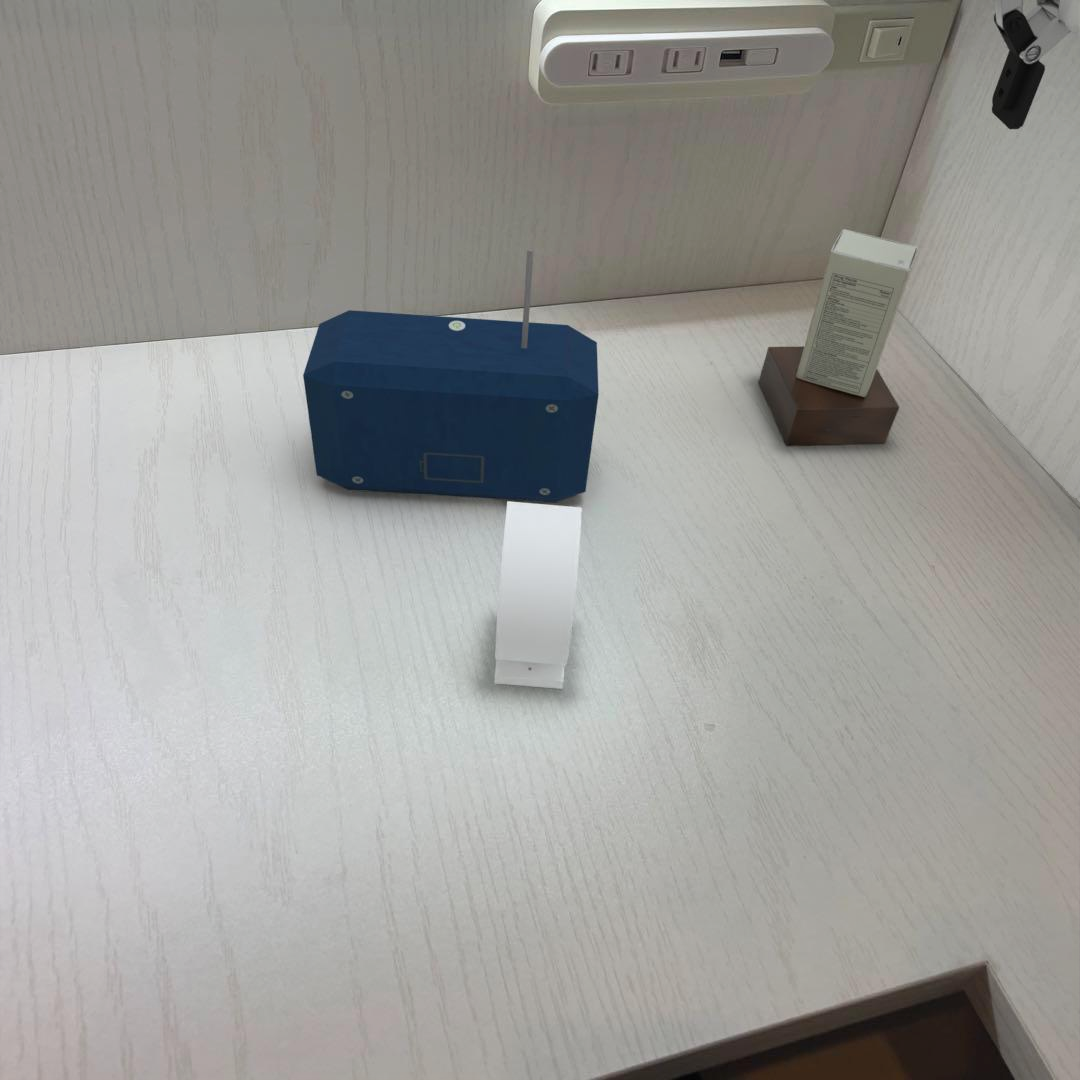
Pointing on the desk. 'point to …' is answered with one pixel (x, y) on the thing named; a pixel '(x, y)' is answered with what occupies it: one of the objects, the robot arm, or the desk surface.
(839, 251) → the cosmetic box
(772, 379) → the walnut block
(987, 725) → the desk surface
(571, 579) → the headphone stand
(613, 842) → the desk surface
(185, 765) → the desk surface
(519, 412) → the radio
